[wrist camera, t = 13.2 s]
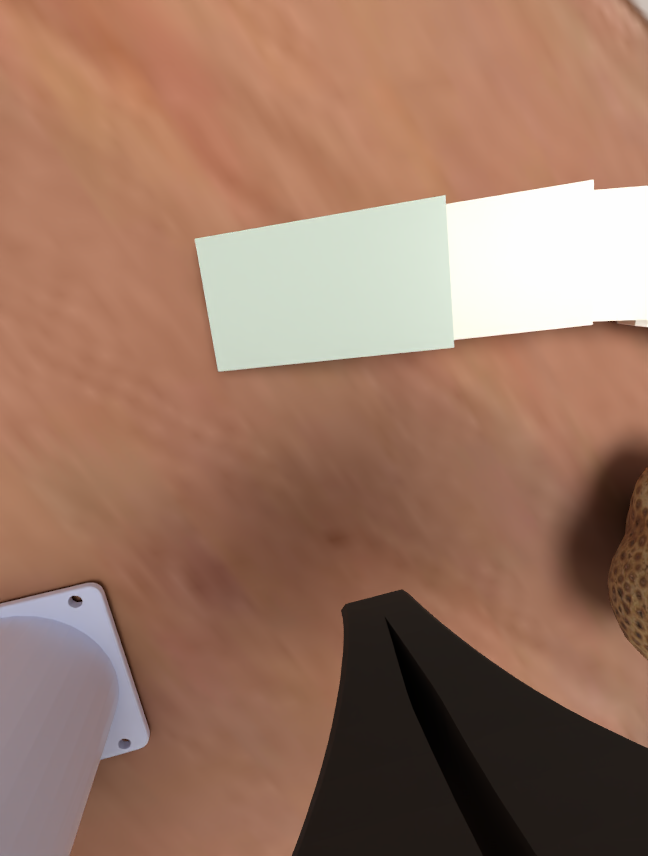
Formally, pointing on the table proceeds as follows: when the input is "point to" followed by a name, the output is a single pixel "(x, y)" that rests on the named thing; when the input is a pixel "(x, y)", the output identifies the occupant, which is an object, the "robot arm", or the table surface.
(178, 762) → the table surface
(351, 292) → the domino
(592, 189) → the domino
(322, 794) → the robot arm
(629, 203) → the domino
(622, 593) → the natural sponge
